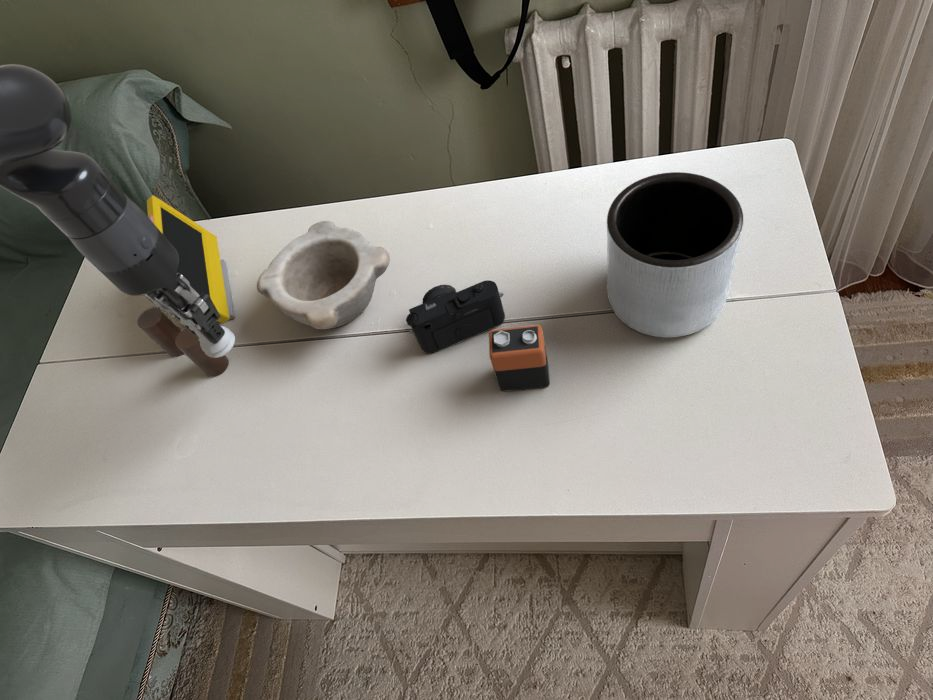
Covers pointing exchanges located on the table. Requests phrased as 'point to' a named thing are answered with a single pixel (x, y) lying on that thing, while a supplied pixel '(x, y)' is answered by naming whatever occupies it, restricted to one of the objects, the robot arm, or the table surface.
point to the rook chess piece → (209, 348)
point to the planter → (671, 252)
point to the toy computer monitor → (195, 255)
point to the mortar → (324, 276)
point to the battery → (519, 357)
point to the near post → (200, 354)
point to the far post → (160, 330)
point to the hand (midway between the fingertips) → (208, 332)
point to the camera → (455, 315)
